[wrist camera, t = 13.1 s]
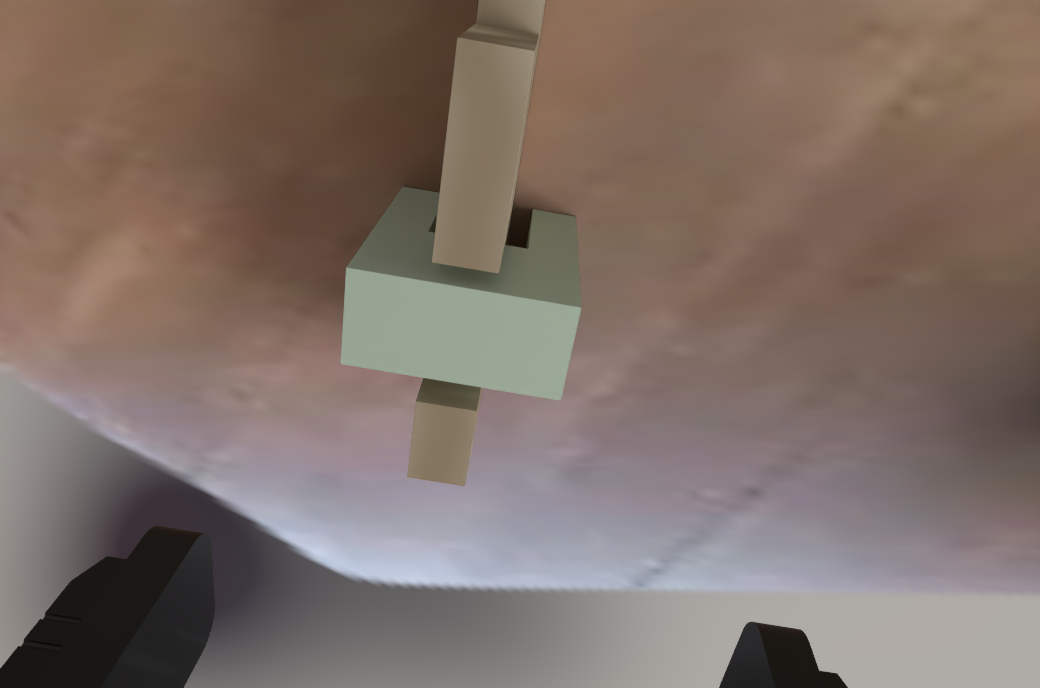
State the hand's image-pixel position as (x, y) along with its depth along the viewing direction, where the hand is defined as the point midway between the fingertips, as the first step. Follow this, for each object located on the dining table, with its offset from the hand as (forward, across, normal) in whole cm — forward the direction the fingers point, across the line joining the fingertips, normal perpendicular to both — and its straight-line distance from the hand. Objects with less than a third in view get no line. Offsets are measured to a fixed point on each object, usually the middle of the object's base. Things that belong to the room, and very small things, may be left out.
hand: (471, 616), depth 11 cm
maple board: (+18, +2, -4) cm, 19 cm away
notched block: (+18, +2, +1) cm, 18 cm away
